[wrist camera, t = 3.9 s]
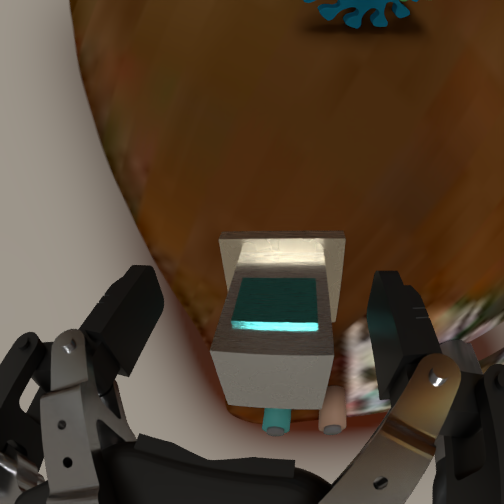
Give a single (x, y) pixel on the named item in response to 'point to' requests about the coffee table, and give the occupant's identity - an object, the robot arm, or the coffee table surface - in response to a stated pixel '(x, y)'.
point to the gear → (362, 11)
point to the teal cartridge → (276, 421)
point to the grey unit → (278, 317)
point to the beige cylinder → (333, 411)
